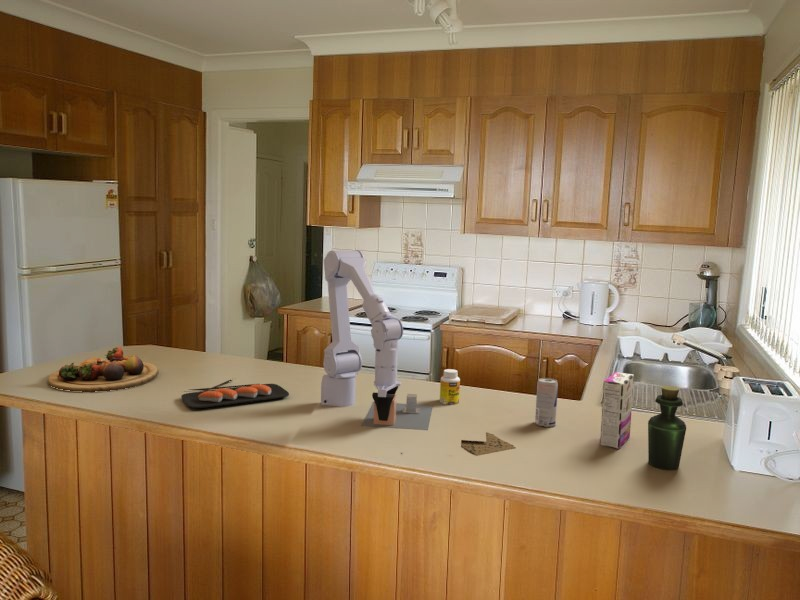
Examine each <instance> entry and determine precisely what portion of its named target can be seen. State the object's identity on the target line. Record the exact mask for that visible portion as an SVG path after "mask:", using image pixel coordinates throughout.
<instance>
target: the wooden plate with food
mask: <svg viewBox="0 0 800 600" xmlns="http://www.w3.org/2000/svg"><path fill="white" fill-rule="evenodd" d="M104 356H105V358H106V359H105V358H101V357H95V356H94V357H93V356H92V357H89V358H87V359H85V360H84V361H82V362H80V363H79V364H75V362H71V364H69V365H68V364H65V365H63V366H62V367H61V368H59V369H58V370H56V371H54V372H53V373H51V374H50V375H49V377H48V378H47V384H48V386H49V385H50V386H52V387H55V388H58V389H63V390H70V391H82V392H81V393H83V392H90V393H96V392H95V391H107V392H111V391H110V390H116V391H119V390H118V389H123V390H126V389H125V388H128V389H131V388H130V387H133V388H136V387H140V386H142V384H143V385H146V384H147V383H150V382H152V381H153V380H155V379H156V378H157V376H158V375H159V369H158V367H157V366H156V365H155V364H153V363H150V362H147V361H143V360H142V359H141V358H140V357H139V356H137V355H135V354H132V355H131V356H129V355H127V356H124V351H123V348H121V347H119V346H118V347H117V346H115V347H113V348H112V350H110V349H109V350H108V351H107V354H104ZM74 364H75V365H74ZM139 385H140V386H139ZM50 386H49V387H50ZM135 386H136V387H135ZM52 387H51V388H52Z"/></svg>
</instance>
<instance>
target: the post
mask: <svg viewBox="0 0 800 600" xmlns="http://www.w3.org/2000/svg"><path fill="white" fill-rule="evenodd" d="M417 402H418V394H416V393H407V395H406V403H405V404H406V407H404V410H403V413H407V414H419V411H420V408H417V405H418V403H417Z"/></svg>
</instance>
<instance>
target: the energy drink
mask: <svg viewBox="0 0 800 600" xmlns="http://www.w3.org/2000/svg"><path fill="white" fill-rule="evenodd" d="M558 390H559V383H558V380H557V379H554V378H549V377H541V378H538V380H537V383H536V400H535V415H534V416H535V419H534V422H535V424H536V426H539V425H540V427H542V426H544V428H552V426H553V427H554V426H556V422H557V407H558V406H557V405H558V392H559V391H558Z"/></svg>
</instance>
